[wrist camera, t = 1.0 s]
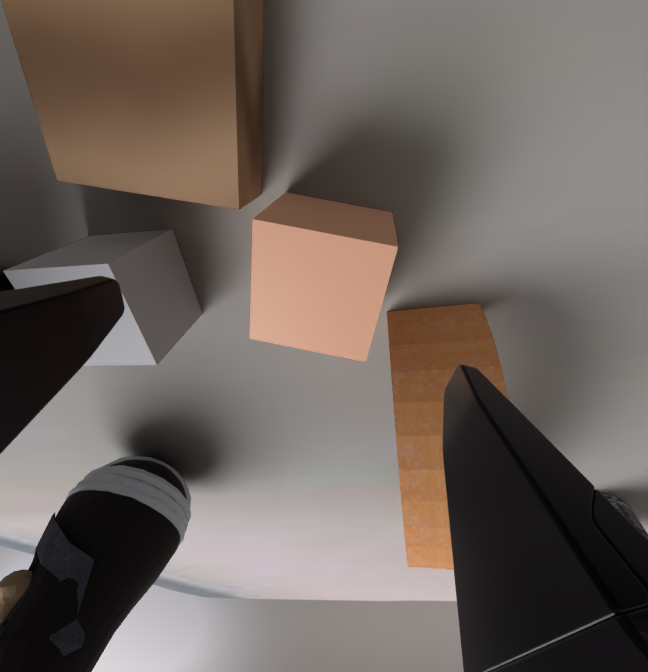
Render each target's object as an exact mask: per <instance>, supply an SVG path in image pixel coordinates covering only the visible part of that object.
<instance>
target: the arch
mask: <svg viewBox="0 0 648 672" xmlns="http://www.w3.org/2000/svg"><path fill="white" fill-rule="evenodd" d="M387 319H388V334H389V348H390V362H391V376H392V389H393V402H394V415H395V428H396V440H397V452H398V465H399V477H400V489H401V501H402V512H403V523H404V534H405V545H406V555H407V564H408V567H423V568H439V569H454V565H453V555H452V545H451V534H450V524H449V514H448V504H447V493H446V483H445V473H444V462H443V408H444V392H445V389H446V386H447V385H448V383H449V381H450V379H451V377H452V375H453V373H454V371H455V370H456V368H457V367H458V366H459V365H461V364H463V365H467V366H471V367H475V368H477V369H478V370H479V371H480V372H481V373H482V374H483V375H484V376H485V377H486V378H487V379H488V380H489V381H490V382H491V383H492V384H493V385H494V386H495V387H496V388H497V389H498V390H499V391H500V392H501V393H502V394H503V395H504V396H505V397H506V398H507V399H508V396H507V392H506V387H505V382H504V378H503V373H502V368H501V364H500V361H499V357H498V353H497V350H496V346H495V343H494V339H493V336H492V333H491V330H490V328H489V325H488V322H487V319H486V316H485V314H484V312H483V310H482V308H481V306H480V304H479V303H473V304H463V305H452V306H441V307H431V308H420V309H410V310H399V311H388V312H387Z"/></svg>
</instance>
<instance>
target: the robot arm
mask: <svg viewBox="0 0 648 672" xmlns="http://www.w3.org/2000/svg"><path fill="white" fill-rule="evenodd" d="M124 310H125V306H124V301H123V297H122V293H121V288H120V285H119V283H118V281H117V280H115V279H112V278H108V277H104V276H95V277H89V278H83V279H77V280H70V281H64V282H58V283H52V284H46V285H40V286H34V287H27V288H21V289H15V288H14V287H13V285H12V284H11V282H10V281H9V279H8V278H7V276H6V275H5V273H4V272H3V271H1V270H0V454H1V453H2V452H3V450H4V449H5V448H6V447H7V446H8V445H9V444H10V443H11V442H12V441H13V440H14V439H15V438H16V437H17V436H18V434H19V433H20V432H21V431H22V430H23V429H24V428H25V427H26V426H27V425H28V424H29V423H30V422H31V421H32V420H33V418H34V417H35V416H36V415H37V414H38V413H39V412H40V411H41V410H42V409H43V408H44V407H45V406H46V405H47V404H48V402H49V401H50V400H51V399H52V398H53V397H54V396H55V395H56V394H57V393H58V392H59V391H60V390H61V389H62V388H63V386H64V385H65V384H66V383H67V382H68V381H69V380H70V379H71V378H72V377H73V376H74V375H75V374H76V373H77V372H78V370H79V369H80V368H81V367H82V366H83V365H84V364H85V363H86V362H87V361H88V360H89V358H90V357H91V356H92V355H93V354H94V352H95V351H96V350H97V348H98V347H99V346H100V344H101V343H102V342H103V340H104V339H105V338H106V337H107V335H108V334H109V333H110V331H111V330H112V329H113V327H114V326H115V325H116V323H117V322H118V321H119V319H120V318H121V317H122V315H123V313H124ZM443 462H444V473H445V483H446V493H447V504H448V514H449V524H450V534H451V545H452V555H453V565H454V576H455V586H456V596H457V607H458V617H459V627H460V637H461V647H462V658H463V668H464V672H648V539H647V538H646V537H645V536H644V535H643V534H642V533H641V532H640V531H639V530H638V529H637V528H636V527H635V526H634V525H633V524H632V523H630V522H629V521H628V520H627V519H626V518H625V517H624V516H623V515H622V514H621V513H620V512H619V511H618V510H617V509H616V508H615V507H614V506H613V505H612V504H611V503H610V502H609V501H608V500H607V499H606V498H605V497H604V496H603V495H602V494H601V493H600V492H599V491H598V490H594V486H593V485H592V484H591V483H590V482H589V481H588V480H587V479H586V478H585V477H584V476H583V475H582V474H581V473H580V472H579V470H578V469H577V468H576V467H575V466H574V465H573V464H572V463H571V462H570V461H569V460H568V459H567V458H566V457H565V456H564V455H563V454H562V453H561V452H560V451H559V450H558V449H557V448H556V447H555V446H554V445H553V444H552V443H551V442H550V441H549V440H548V439H547V438H546V437H545V436H544V435H543V434H542V433H541V432H540V431H539V430H538V429H537V428H536V427H535V426H534V425H533V424H532V423H531V422H530V421H529V420H528V419H527V418H526V417H525V416H524V415H523V414H522V413H521V412H520V411H519V410H518V409H517V408H516V407H515V406H514V405H513V404H512V403H511V402H510V401H509V400H508V399H507V398H506V397H505V396H504V395H503V394H502V393H501V392H500V391H499V390H498V389H497V388H496V387H495V386H494V385H493V384H492V383H491V382H490V381H489V380H488V379H487V378H486V377H485V376H484V375H483V374H482V373H481V372H480V371H479V370H478V369H477V368H475V367H471V366H467V365H463V364H461V365H459V366H458V367H457V368H456V370H455V371H454V373H453V375H452V377H451V379H450V381H449V383H448V385H447V386H446V389H445V392H444V408H443Z"/></svg>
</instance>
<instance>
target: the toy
mask: <svg viewBox="0 0 648 672" xmlns="http://www.w3.org/2000/svg"><path fill="white" fill-rule="evenodd" d="M190 502H191V497H190V493H189V489H188V487H187V485H186V483H185V481H184V480H183V478H182V477H181V476H180V475H179V473H178V472H177V471H176V470H175V469H174V468H172V467H171V466H169V465H168V464H166V463H164V462H162V461H160V460H157V459H155V458H152V457H141V456H132V457H123V458H120V459H117V460H115V461H113V462H111V463H109V464H107V465H105V466H103V467H101V468H98V469H96V470H93V471H91V472H90V473H89V474H88V475H86V476H85V478H84V479H83V480H82V481H80V482H79V483H78V484H77V486H76V487H75V488H73V489H72V490H71V491H70V492H69V493H68V496H67V498H66V501H65V503H64V504H63V506H62V507H61V509H60V510H59V512H58V514H57V516H56V517H55V513H54V514H53V515H52V517H51V519H50V521H49V523H48V525H47V527H46V529H45V531H44V533H43V535H42V537H41V539H40V541H39V543H38V545H37V547H36V550H35V555H34V558H33V562H32V564H31V566H30V568H29V569H28V570H19V571H14V572H13V573H11V574H9V575H8V576H6V577H4V578H3V580H2V581H1V582H0V672H91V671H92V670H93V668H94V666H95V665H96V663H97V661H98V660H99V658H100V656H101V654H102V653H103V651H104V649H105V647H106V646H107V644H108V643H109V641H110V639H111V638H112V636H113V634H114V632H115V631H116V630H117V629H118V627H119V626H120V625H121V623H122V622H123V621H124V619H125V618H126V617H127V615H128V614H129V612H130V611H131V610H132V608H133V607H134V606H135V605H136V604H137V603H138V601H139V600H140V599H141V598H142V597H143V595H144V594H145V593H146V592H147V591H148V589H149V588H150V587H151V586H152V585H153V583H154V582H155V581H156V580H157V578H158V577H159V575H160V574H161V572H162V571H163V569H164V568H165V566H166V565H167V563H168V562H169V560H170V559H171V557H172V556H173V554H174V553H175V551H176V550H177V548H178V546H179V545H180V543H181V542H182V541H183V539H184V535H185V532H186V529H187V526H188V522H189V520H190V516H191V511H190Z"/></svg>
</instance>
